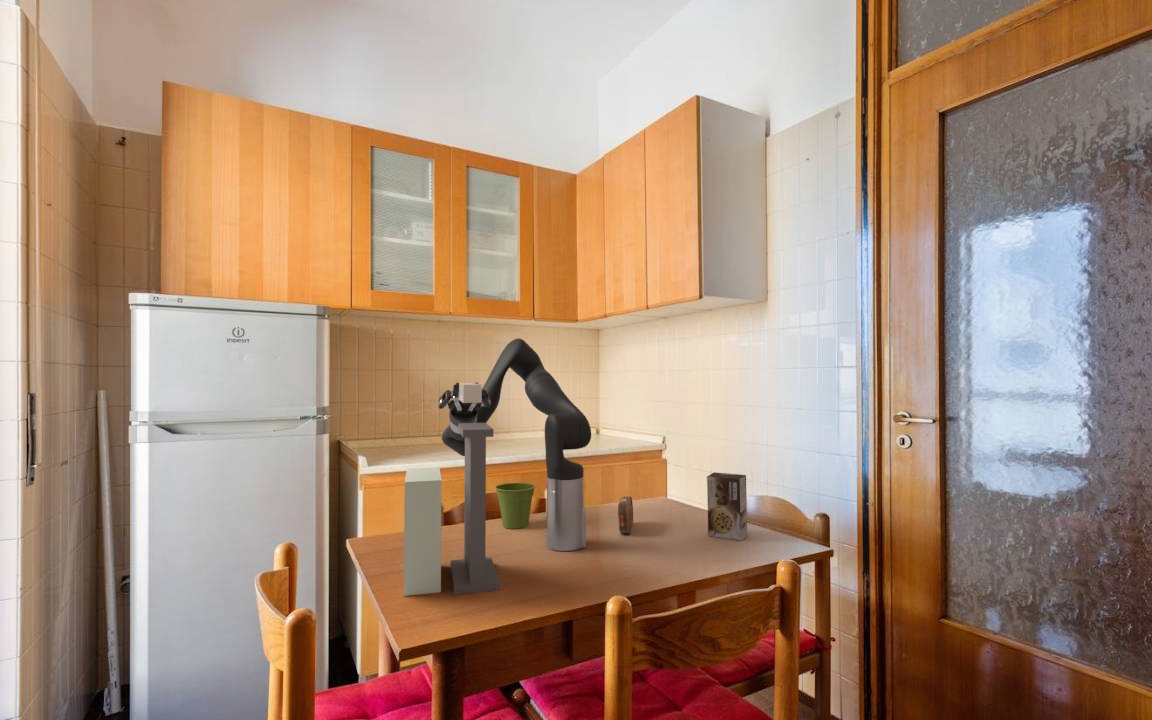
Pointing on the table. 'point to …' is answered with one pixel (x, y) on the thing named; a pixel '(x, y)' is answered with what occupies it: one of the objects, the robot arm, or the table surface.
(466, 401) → the stone bar
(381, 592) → the table surface
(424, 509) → the pedestal
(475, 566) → the tall stand
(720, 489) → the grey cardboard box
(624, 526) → the tin
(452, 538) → the table surface
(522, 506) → the plant pot
